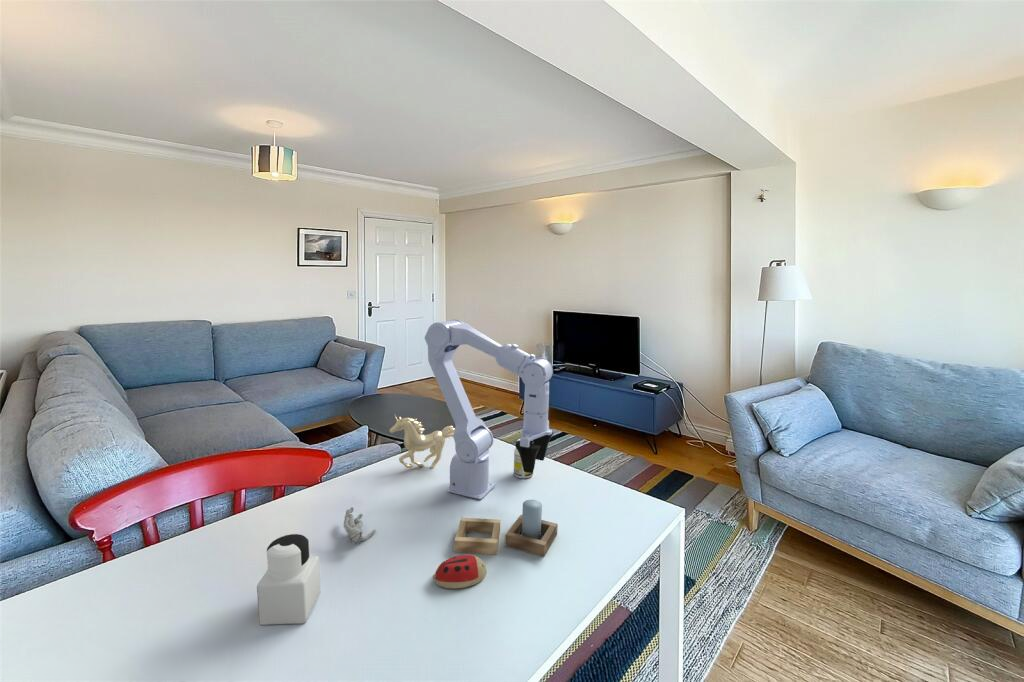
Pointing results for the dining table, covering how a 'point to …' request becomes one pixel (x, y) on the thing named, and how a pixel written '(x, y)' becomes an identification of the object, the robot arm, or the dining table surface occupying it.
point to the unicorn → (421, 440)
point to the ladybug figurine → (460, 572)
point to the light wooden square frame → (477, 544)
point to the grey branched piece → (355, 527)
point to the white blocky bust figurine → (288, 582)
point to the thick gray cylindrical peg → (532, 519)
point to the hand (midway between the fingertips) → (534, 465)
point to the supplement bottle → (519, 466)
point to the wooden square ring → (531, 544)
